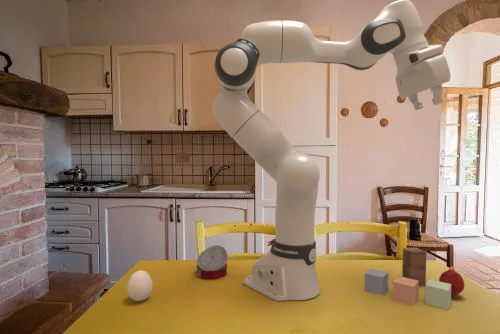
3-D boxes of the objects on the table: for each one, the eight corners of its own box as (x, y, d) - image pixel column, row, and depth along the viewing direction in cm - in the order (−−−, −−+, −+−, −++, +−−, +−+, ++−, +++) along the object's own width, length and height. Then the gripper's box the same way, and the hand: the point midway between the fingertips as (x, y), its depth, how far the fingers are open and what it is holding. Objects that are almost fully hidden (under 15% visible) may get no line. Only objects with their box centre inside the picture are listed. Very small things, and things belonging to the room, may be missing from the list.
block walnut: (402, 280, 96) (402, 248, 96) (415, 279, 97) (416, 247, 96) (411, 286, 92) (412, 252, 91) (425, 285, 92) (426, 252, 92)
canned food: (227, 286, 103) (239, 263, 100) (202, 292, 96) (213, 267, 93) (211, 262, 111) (221, 240, 107) (186, 266, 104) (196, 242, 101)
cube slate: (364, 290, 89) (364, 273, 89) (370, 284, 93) (370, 268, 93) (382, 295, 86) (382, 277, 86) (388, 289, 90) (388, 272, 90)
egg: (138, 308, 79) (137, 277, 79) (122, 302, 82) (121, 272, 82) (157, 298, 84) (157, 269, 84) (141, 292, 88) (141, 265, 87)
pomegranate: (468, 301, 82) (469, 271, 82) (444, 299, 83) (444, 270, 83) (458, 292, 88) (458, 264, 87) (435, 290, 89) (436, 262, 89)
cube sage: (425, 304, 81) (425, 285, 81) (429, 297, 85) (429, 279, 85) (447, 310, 78) (448, 290, 78) (450, 302, 82) (451, 284, 81)
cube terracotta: (393, 300, 83) (393, 281, 83) (398, 293, 87) (398, 276, 87) (413, 305, 80) (414, 286, 80) (418, 299, 84) (418, 280, 84)
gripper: (386, 72, 98) (399, 115, 98) (422, 51, 77) (439, 104, 78) (405, 66, 97) (419, 108, 98) (446, 42, 77) (463, 96, 77)
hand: (428, 106), depth 88 cm, fingers open, 8 cm apart
